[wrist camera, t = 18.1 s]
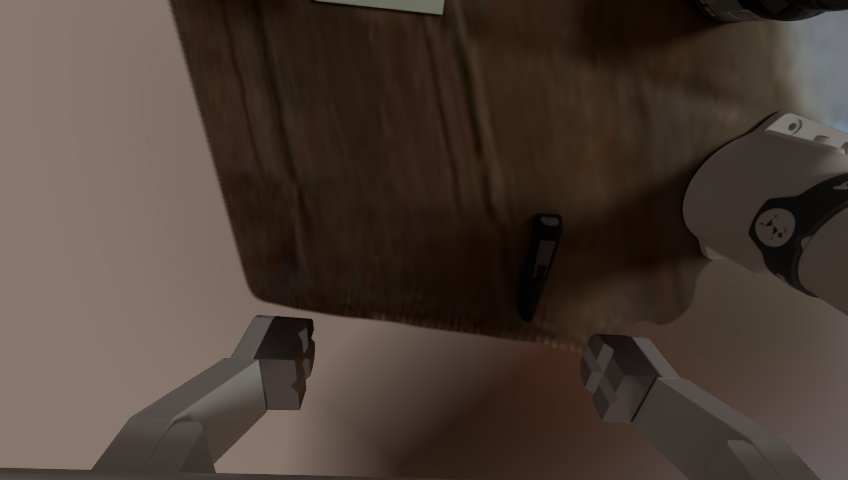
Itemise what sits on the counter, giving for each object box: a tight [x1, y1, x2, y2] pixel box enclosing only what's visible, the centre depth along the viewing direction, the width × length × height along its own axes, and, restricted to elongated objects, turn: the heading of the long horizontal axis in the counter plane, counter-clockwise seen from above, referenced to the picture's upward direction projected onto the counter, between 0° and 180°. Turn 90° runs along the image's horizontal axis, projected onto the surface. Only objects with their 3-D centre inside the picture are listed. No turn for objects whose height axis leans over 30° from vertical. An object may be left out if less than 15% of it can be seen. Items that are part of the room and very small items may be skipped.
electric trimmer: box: [518, 214, 562, 322], centre depth 49 cm, size 4×16×3 cm, turn 175°
